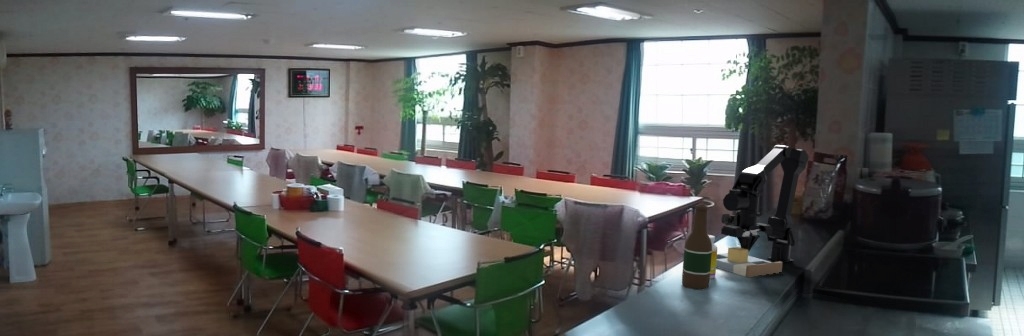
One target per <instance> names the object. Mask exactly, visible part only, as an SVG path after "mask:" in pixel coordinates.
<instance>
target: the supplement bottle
mask: <svg viewBox="0 0 1024 336" xmlns="http://www.w3.org/2000/svg"><path fill="white" fill-rule="evenodd" d="M708 236H709V238H710V240H711V243H712V257H711V269H710V279H711V280H712V279H714V278H716V273H717V267H716V261H717V254H718V246H717V245H716V244H715V240H716V237H715V235H711V234H708Z"/></svg>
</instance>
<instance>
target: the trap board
mask: <svg viewBox="0 0 1024 336" xmlns="http://www.w3.org/2000/svg"><path fill="white" fill-rule="evenodd" d="M727 257H728V252H723V253H717V261H716V269H721V270H723V271H727V272H730V273H734V274H737V275H738V276H739V275H740V276H742V277H746V278H753V277H754V276H755V277H758V276H757V275H762V276H767V275H766V274H769V275H774V274H773V273H776V274H780V273H779V272H782V271H783V264H784V263H783V262H778V261H774V262H773V261H772V262H771V261H769V260H765V259H761V258H757V257H754V256H752V255H748V262H742V263H737V262H733V261H730V260H727ZM782 273H783V272H782Z"/></svg>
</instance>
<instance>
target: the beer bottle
mask: <svg viewBox="0 0 1024 336" xmlns="http://www.w3.org/2000/svg"><path fill="white" fill-rule="evenodd" d="M694 210H695V211H694V218H693V225H692V229H691V232H690V233H689V234H688V236H687V237H686V240H685V242H684V248H683V249H684V250H683V261H682V274H681V284H682V286H684V287H685V288H687V287H688V289H691V288H692V290H703V289H704V290H706V289H708V288H709V286H710V269H711V257H712V243H711V240H710V238H709V236H708V235H709V234H708V228H707V227H708V226H707V224H708V223H707V222H708V218H707V217H708V211H709V207H708V206H707V205H705V204H695V206H694Z"/></svg>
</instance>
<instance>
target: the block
mask: <svg viewBox="0 0 1024 336" xmlns="http://www.w3.org/2000/svg"><path fill="white" fill-rule="evenodd" d="M748 251H749V250H747V249H744V248H741V246H740V247H739V246H732V247H728V249H727V253H728V257H727V260H730V261H733V262H737V263H742V262H748V256H749V253H748ZM749 252H750V251H749Z"/></svg>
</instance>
